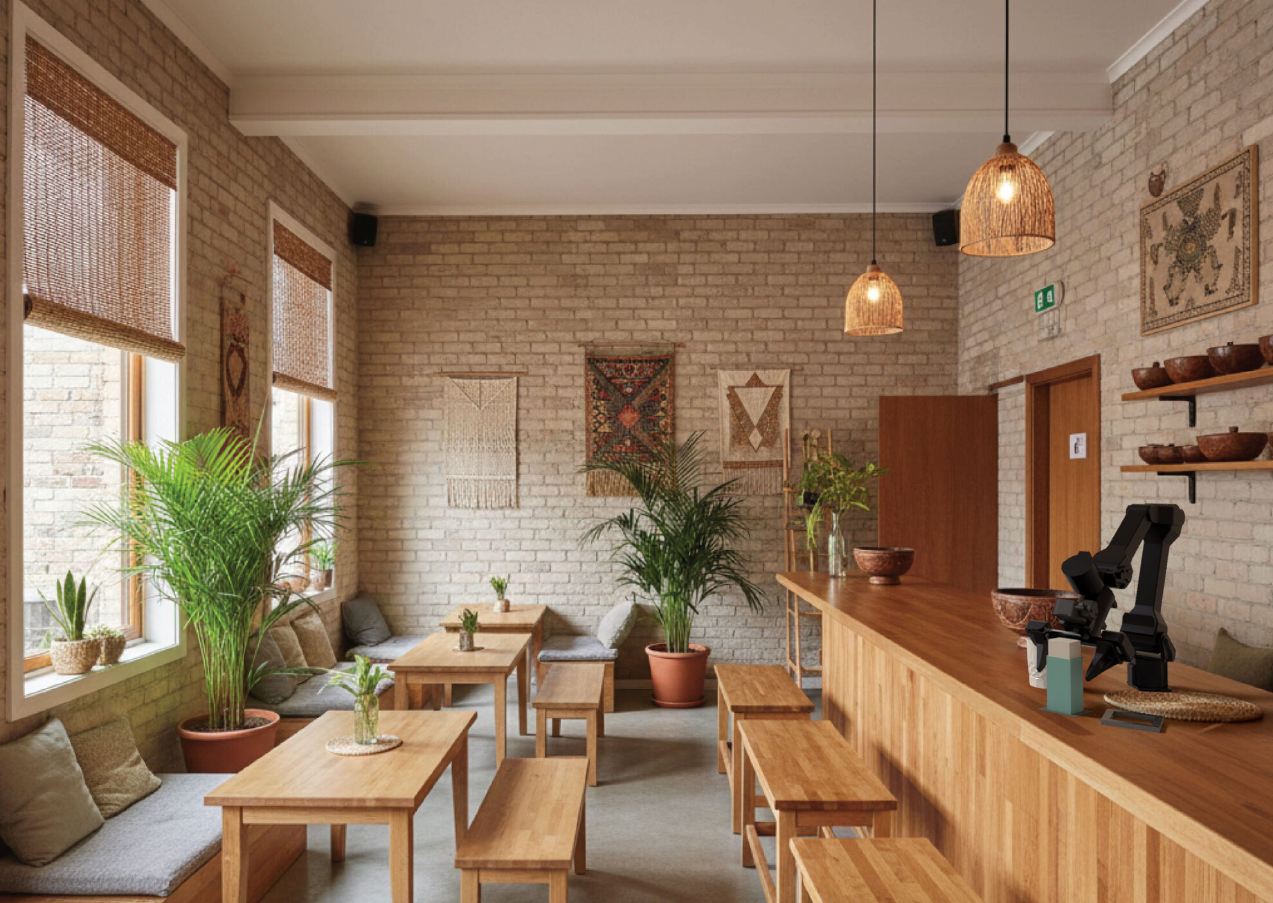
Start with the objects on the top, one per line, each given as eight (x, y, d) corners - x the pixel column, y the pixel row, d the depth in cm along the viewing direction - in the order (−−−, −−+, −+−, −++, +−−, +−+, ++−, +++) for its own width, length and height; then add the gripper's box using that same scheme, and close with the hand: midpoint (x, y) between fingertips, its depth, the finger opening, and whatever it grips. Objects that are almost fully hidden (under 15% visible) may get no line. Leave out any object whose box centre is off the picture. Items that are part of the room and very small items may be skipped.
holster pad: (1056, 705, 169) (1056, 703, 169) (1093, 713, 163) (1093, 711, 163) (1037, 711, 164) (1037, 709, 164) (1074, 720, 159) (1074, 717, 159)
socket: (1099, 712, 164) (1099, 705, 164) (1174, 722, 157) (1174, 715, 157) (1089, 727, 154) (1089, 720, 154) (1169, 739, 147) (1169, 731, 147)
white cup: (1073, 693, 178) (1072, 644, 179) (1031, 691, 180) (1031, 642, 180) (1062, 684, 186) (1062, 637, 186) (1023, 682, 188) (1022, 635, 188)
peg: (1059, 705, 167) (1058, 637, 167) (1083, 710, 163) (1082, 640, 164) (1047, 709, 164) (1046, 639, 165) (1070, 714, 161) (1069, 643, 161)
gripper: (1029, 578, 175) (998, 640, 168) (1126, 588, 159) (1096, 656, 153) (1050, 615, 179) (1021, 676, 172) (1147, 628, 164) (1119, 695, 157)
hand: (1061, 675), depth 163 cm, fingers open, 9 cm apart
